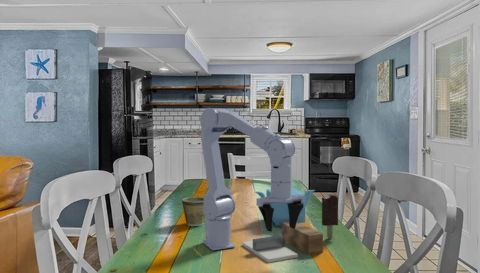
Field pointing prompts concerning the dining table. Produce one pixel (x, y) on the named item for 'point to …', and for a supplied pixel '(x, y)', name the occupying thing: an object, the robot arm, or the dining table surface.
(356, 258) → the dining table surface
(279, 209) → the teakettle
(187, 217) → the plant pot
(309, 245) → the walnut beam
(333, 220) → the ice cream bar
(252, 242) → the fulcrum board
